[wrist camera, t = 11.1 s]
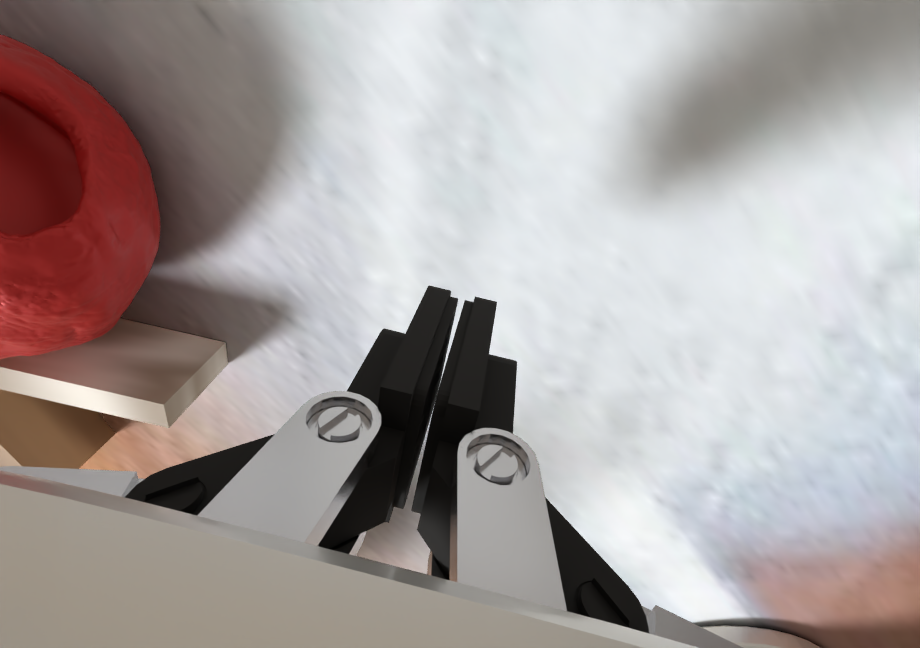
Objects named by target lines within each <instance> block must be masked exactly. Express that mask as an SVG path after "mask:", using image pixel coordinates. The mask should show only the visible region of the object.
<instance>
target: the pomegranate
mask: <svg viewBox="0 0 920 648" xmlns="http://www.w3.org/2000/svg"><path fill="white" fill-rule="evenodd" d="M159 239H160V215H159V207H158V199H157V196H156V192H155V188H154V183H153V180H152V176H151V169H150V165H149V163H148V161H147V159H146V157H145V155H144V153H143V151H142V148H141V145H140V143H139V142H138V141H137V139H136V138H135V136H134V135H133V133H132V132H131V130H130V128H129V127H128V125H127V123H126V122H125V121H124V119H123V118H122V117H121V115H120V114H119V113H118V112H117V111H116V110H115V109H114V108H113V107H112V106H111V105H110V104H109V103H108V102H107V101H106V100H105V99H104V98H103V97H102V96H101V95H100V93H99V92H98V91H97V90H96V89H95V88H93V87H92V86H91V85H90V84H88V83H87V82H86V81H83V80H82V79H80V78H79V77H78V76H77V75H75V74H74V73H72V72H71V71H70V70H68V69H66V68H65V67H63V66H61V65H60V64H58V63H57V62H56V61H55V60H53V59H52V58H50V57H48V56H46V55H44V54H43V53H41V52H39V51H38V50H36V49H34V48H32V47H30V46H28V45H26V44H24V43H21V42H19V41H17V40H14V39H12V38H9V37H7V36H4V35H1V34H0V360H1V359H4V358H9V357H15V356H34V355H40V354H45V353H48V352H51V351H57V350H61V349H63V348H67V347H71V346H76V345H80V344H83V343H86V342H88V341H91V340H93V339H95V338H98V337H100V336H102V335H104V334H105V333H107V332H108V331H109V330H111V329H112V328H113V327H114V326H115V325H116V323H117V322H118V320H119V319H120V317H121V315H122V314H123V312H124V311H125V310H126V309H127V308H128V306H129V305H130V304H131V302H132V300H133V298H134V297H135V295H136V293H137V292H138V290H139V289H140V287H141V286H142V284H143V282H144V280H145V279H146V277H147V276H148V274H149V272H150V270H151V267H152V264H153V261H154V259H155V256H156V254H157V251H158V248H159Z"/></svg>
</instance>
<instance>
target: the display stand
mask: <svg viewBox="0 0 920 648" xmlns="http://www.w3.org/2000/svg"><path fill="white" fill-rule="evenodd" d="M227 365H228V359H227V350H226V342H221V341H217V340H213V339H208V338H204V337H200V336H195V335H191V334H187V333H182V332H178V331H174V330H169V329H165V328H161V327H156V326H152V325H148V324H143V323H139V322H134V321H130V320H126V319H121V318H120V319H119V320H118V322H117V323H116V325H115V326H114V327H113V328H112V329H111V330H109V331H108V332H107V333H105V334H104V335H102V336H100V337H98V338H95V339H93V340H91V341H88V342H86V343H83V344H80V345H76V346H71V347H67V348H63V349H61V350H57V351H51V352H48V353H45V354H40V355H34V356H15V357H9V358H4V359H1V360H0V389H2V390H6V391H10V392H15V393H19V394H23V395H28V396H32V397H36V398H41V399H45V400H49V401H54V402H58V403H62V404H67V405H71V406H75V407H79V408H84V409H88V410H92V411H97V412H101V413H105V414H110V415H114V416H118V417H123V418H127V419H131V420H136V421H140V422H144V423H149V424H153V425H157V426H162V427H166V428H169V427H170V426H171V425H172V424H173V423H174V422H175V421H176V420H177V419H178V418H179V417H180V415H181V414H182V413H183V412H184V411H185V410H186V409H187V408H188V407H189V406H190V405H191V404H192V402H193V401H194V400H195V399H196V398H197V397H198V396H199V395H200V394H201V393H202V392H203V391H204V389H205V388H206V387H207V386H208V385H209V384H210V383H211V382H212V381H213V380H214V379H215V378H216V376H217V375H218V374H219V373H220V372H221V371H222V370H223V369H224V368H225V367H226V366H227Z"/></svg>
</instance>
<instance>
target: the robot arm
mask: <svg viewBox="0 0 920 648" xmlns="http://www.w3.org/2000/svg"><path fill="white" fill-rule="evenodd" d="M450 295H451V291H449V290H445V289H441V288H437V287H433V286H428V288H427V290H426V292H425V294H424V296H423V298H422V301H421V303H420V305H419V307H418V309H417V311H416V313H415V315H414V317H413V319H412V321H411V324H410V326H409V328H408V330H407V332H406V334H404V333H400V332H396V331H392V330H388V329H383V330H382V331H381V332H380V334H379V336H378V338H377V339H376V341H375V343H374V345H373V346H372V348H371V350H370V352H369V353H368V355H367V357H366V359H365V360H364V362H363V364H362V366H361V367H360V369H359V371H358V373H357V374H356V376H355V378H354V380H353V381H352V383H351V385H350V387H349V388H348V390H347V391H333V392H327V393H322V394H320V395H318V396H315V397H313V398H311V399H310V400H309V401H307V402H306V403H305V404H303V405H302V406H301V407H300V409H299V410H298V411H297V412H296V413H295V414H294V415H293V416H292V417H291V418H290V419H289V420H288V421H287V422H286V423H285V424H284V425H283V426H282V427H281V428H280V429H279V430H278V432H277V433H276V434H274V435H271V436H268V437H264V438H261V439H258V440H255V441H252V442H248V443H245V444H242V445H239V446H236V447H233V448H229V449H226V450H223V451H220V452H217V453H214V454H210V455H207V456H204V457H201V458H198V459H195V460H191V461H188V462H185V463H182V464H179V465H176V466H172V467H169V468H166V469H164V470H162V471H159V472H157V473H155V474H152V475H150V476H149V477H147V478H146V479H138V476H137V472H131V471H109V470H88V469H67V468H45V467H24V466H4V467H0V648H820V647H819V646H817V645H815V644H813V643H811V642H810V641H808V640H805V639H802V638H800V637H797V636H794V635H791V634H788V633H784V632H779V631H775V630H771V629H764V628H756V627H748V626H708V627H700V626H698V625H696V624H694V623H692V622H689V621H687V620H685V619H683V618H681V617H679V616H677V615H675V614H673V613H671V612H669V611H667V610H665V609H663V608H661V607H659V606H657V605H655V607H654V608H653V609H652V611H651V610H649V609H647V608H645V607H643V606H641V604H640V602H639V600H638V599H637V597H636V596H635V595H634V593H633V592H632V591H631V589H630V588H629V587H628V586H627V584H626V583H625V582H624V581H623V580H622V579H621V578H620V577H619V576H618V575H617V574H616V573H615V572H614V571H613V569H612V568H611V567H610V566H609V565H608V564H607V563H606V562H605V561H604V560H603V559H602V558H601V557H600V556H599V554H598V553H597V552H596V551H595V550H594V549H593V548H592V547H591V546H590V545H589V544H588V543H587V542H586V541H585V539H584V538H583V537H582V536H581V535H580V534H579V533H578V532H577V531H576V530H575V529H574V528H573V527H572V526H571V524H570V523H569V522H568V521H567V520H566V519H565V518H564V517H563V516H562V515H561V514H560V513H559V512H558V511H557V509H556V508H555V507H554V506H553V505H552V504H551V503H550V502H549V501H548V500H547V499H546V498H545V494H544V489H543V484H542V478H541V473H540V468H539V463H538V461H537V458H536V455H535V453H534V452H533V450H532V449H531V448H530V446H529V445H528V444H527V443H526V442H524V441H523V440H522V439H521V438H519V437H518V436H516V435H514V434H513V420H514V404H515V388H516V371H517V362H516V361H514V360H510V359H506V358H502V357H498V356H494V355H490V354H489V349H490V343H491V336H492V330H493V324H494V318H495V311H496V305H497V302H495V301H491V300H487V299H482V298H478V297H475V299H474V302H470V301H466V300H465V302H464V305H463V309H462V312H461V316H460V319H459V322H458V326H457V329H456V332H455V336H454V339H453V343H452V346H451V349H450V353H449V356H448V360H447V363H446V366H445V370H444V373H443V376H442V371H443V367H444V362H445V357H446V353H447V348H448V344H449V339H450V334H451V330H452V325H453V321H454V316H455V312H456V307H457V302H458V299H457V298H453V297H450ZM441 376H442V380H441ZM440 380H441V383H440ZM439 385H440V387H439ZM438 389H439V390H438ZM437 393H438V394H437ZM435 400H436V401H435ZM434 404H435V405H434ZM433 407H434V409H433ZM432 411H433V414H432ZM431 414H432V418H431V423H430V427H429V432H428V437H427V441H426V446H425V450H424V455H423V460H422V464H421V469H420V473H419V478H418V483H417V487H416V492H415V496H414V501H413V506H412V511H414V512H417V513H421V516H420V520H419V525H418V529H417V530H418V532H419V533H420V535H421V536H422V538H423V539H424V541H425V542H426V544H427V545H428V547H429V548H430V555H429V559H428V571H427V574H423V573H419V572H415V571H412V570H408V569H404V568H400V567H396V566H392V565H388V564H385V563H381V562H377V561H373V560H369V559H365V558H361V557H357V556H356V554H357V553H358V551H359V549H360V547H361V545H362V543H363V540H364V538H365V535H366V531H367V530H369V529H371V528H373V527H375V526H377V525H379V524H381V523H383V522H388V523H389V520H390V517H391V514H392V511H393V508H394V507H398V508H402V509H403V508H404V505H405V502H406V499H407V495H408V492H409V488H410V485H411V482H412V478H413V475H414V471H415V468H416V465H417V461H418V458H419V455H420V451H421V448H422V444H423V441H424V438H425V434H426V431H427V427H428V424H429V421H430V417H431Z"/></svg>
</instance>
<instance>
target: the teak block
mask: <svg viewBox="0 0 920 648" xmlns="http://www.w3.org/2000/svg"><path fill="white" fill-rule="evenodd" d="M114 434H115V433H114V431H113V430H112V429H111V428H110V426H109V425H108V424H107V423H106V421H105V420H104V419H103V418H102V416H101V415H100V414H99V413H98V412H97V411H92V410H88V409H84V408H79V407H75V406H71V405H67V404H62V403H58V402H54V401H49V400H45V399H41V398H36V397H32V396H28V395H23V394H19V393H15V392H10V391H6V390H2V389H0V467H4V466H24V467H45V468H67V469H79V468H80V467H81V466H82V465H83V464H84V463H85V462H86V461H87V460H88V459H89V458H90V457H91V456H92V455H94V454H95V453H96V452H97V451H98V450H99V449H100V448H101V447H102V446H103V445H104V444H105V443H106V442H107V441H108V440H109V439H110V438H111V437H112V436H113V435H114Z"/></svg>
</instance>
